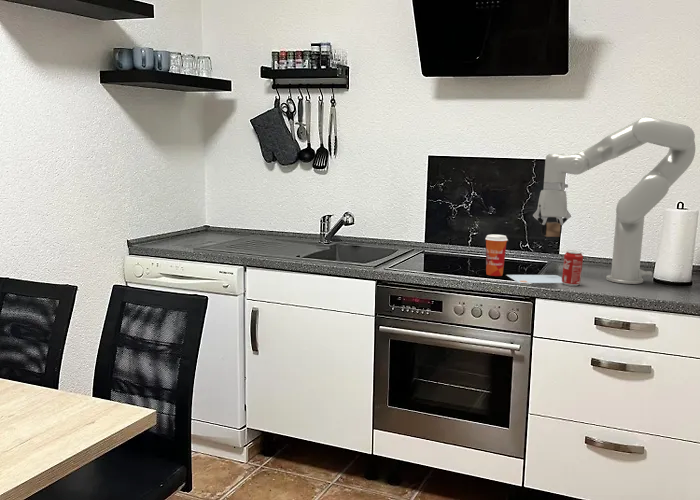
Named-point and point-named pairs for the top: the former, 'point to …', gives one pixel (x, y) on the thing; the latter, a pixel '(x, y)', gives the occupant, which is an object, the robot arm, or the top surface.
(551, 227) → the walnut block
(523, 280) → the envelope
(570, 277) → the beverage can
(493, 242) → the coffee cup
